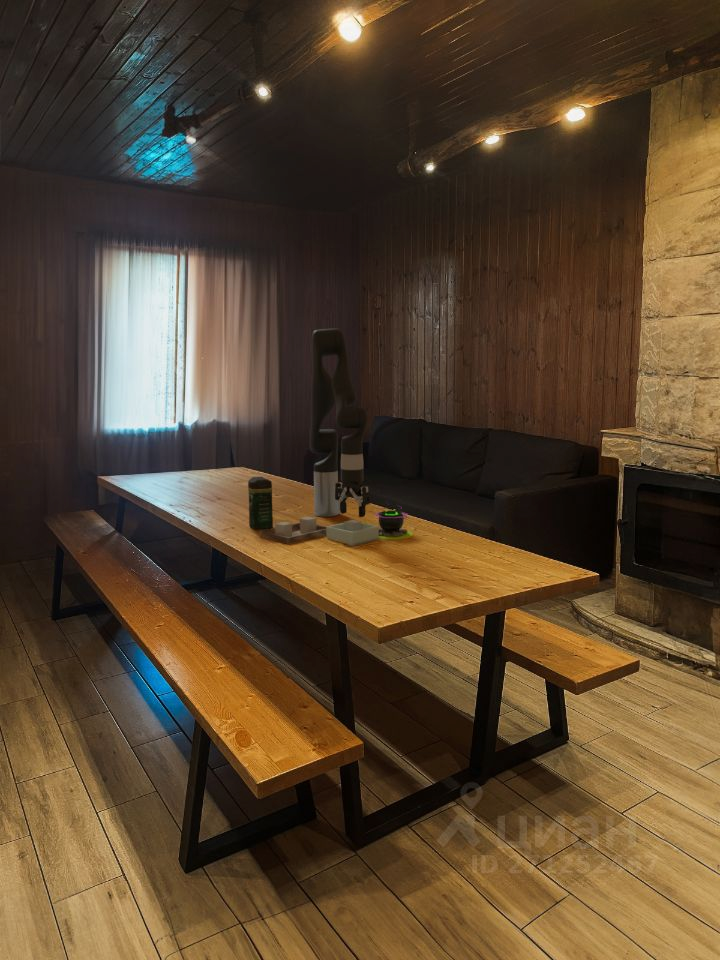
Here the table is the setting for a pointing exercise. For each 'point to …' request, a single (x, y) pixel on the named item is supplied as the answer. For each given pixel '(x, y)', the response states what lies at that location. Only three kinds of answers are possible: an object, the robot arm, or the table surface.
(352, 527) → the stone
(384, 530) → the toy cauldron
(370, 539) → the dump tub
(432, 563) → the table surface
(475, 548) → the table surface
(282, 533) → the stone
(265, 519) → the coffee jar
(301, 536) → the tray
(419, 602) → the table surface
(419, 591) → the table surface
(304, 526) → the grey rectangular block
